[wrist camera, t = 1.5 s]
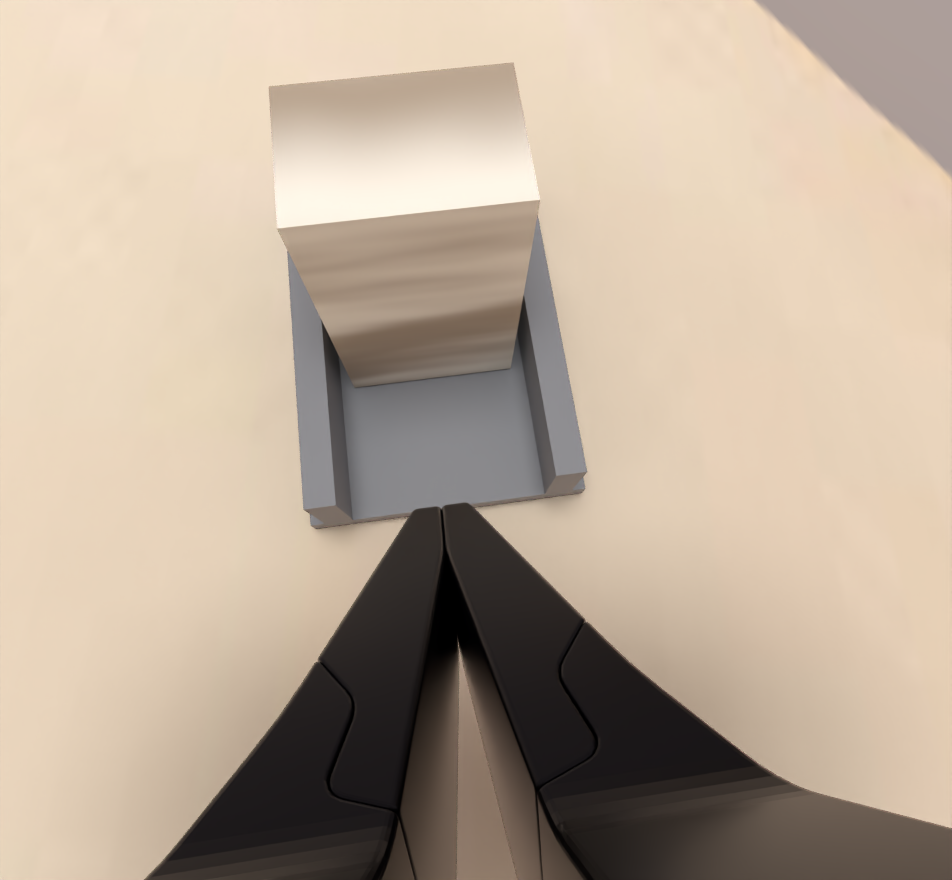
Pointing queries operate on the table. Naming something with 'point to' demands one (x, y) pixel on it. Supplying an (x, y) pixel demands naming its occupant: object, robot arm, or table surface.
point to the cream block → (409, 216)
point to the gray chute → (436, 423)
